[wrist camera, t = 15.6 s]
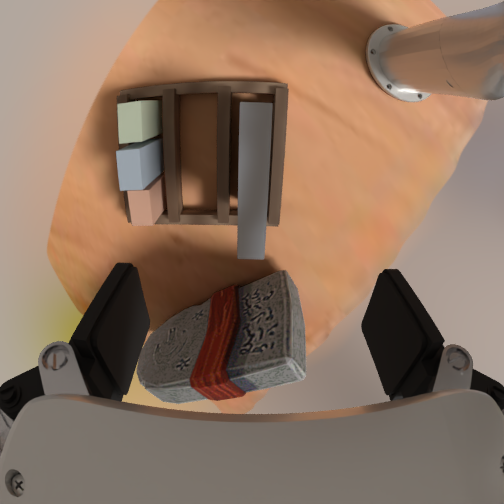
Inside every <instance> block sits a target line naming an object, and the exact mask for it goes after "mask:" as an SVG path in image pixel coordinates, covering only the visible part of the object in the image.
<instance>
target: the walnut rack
mask: <svg viewBox="0 0 504 504" xmlns="http://www.w3.org/2000/svg"><path fill="white" fill-rule="evenodd" d="M287 87H288V84H285V83H272V82H250V81H210V82H189V83H176V84H165V85H156V86H148V87H141V88H134V89H128V90H122V91H120V96H117V104H121V103H128V102H135V99H142V98H150V97H159V96H163V145H164V166H165V182H166V196H167V208H168V210H164V211H163V212H162V214H161V215H160V216H159V218H158V219H157V221H156V222H155V224H190V225H238V210H230V145H231V102H232V93H257V94H274V100H273V121H272V140H271V158H270V176H269V193H268V209H267V222H266V226H278V225H279V221H280V209H281V196H282V183H283V170H284V156H285V141H286V125H287V108H288V89H287ZM201 93H218V114H217V210H183V201H182V183H181V160H180V95H182V94H201ZM117 121H118V107H117ZM118 140H119V132H118ZM134 143H136V142H131V143H122V144H119V150H120V149H122V148H124V147H126V146H129V145H131V144H134ZM127 191H128V190H125V191H123V192H124V199H125V207H126V213H127V220H128V223H131V224H132V221H131V215H130V208H129V200H128V193H127Z"/></svg>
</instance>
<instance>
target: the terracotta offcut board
mask: <svg viewBox="0 0 504 504" xmlns="http://www.w3.org/2000/svg"><path fill="white" fill-rule="evenodd" d="M127 193H128V200H129V208H130V215H131V221H132V226H153V225H154V224H155V222H156V221H157V219H158V218H159V216H160V215H161V214H162V212H163V211H164V209H165V208H166V207H167V201H166V188H165V175H159V176H157V177H156V178H155V179H154V180H153V181H152V182H151V183H150V184H149V185H147V186H146V187H145V188H144V189H143V190H128V191H127Z"/></svg>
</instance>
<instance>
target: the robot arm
mask: <svg viewBox="0 0 504 504" xmlns="http://www.w3.org/2000/svg"><path fill="white" fill-rule="evenodd" d="M388 29H389V30H388ZM371 52H372V53H371ZM366 60H367V64H368V68H369V70H370V72H371V74H372V76H373V78H374V79H375V81H376V82H377V84H378V85H379V86H380V87H381V88H382V89H383V90H384V91H385V92H386V93H387V94H389V95H390V96H392V97H394V98H396V99H398V100H401V101H406V102H419V101H422V100H424V99H426V98H428V97H429V96H430V95H431V94H443V95H453V96H461V97H468V98H475V99H482V100H497V99H500V98H503V97H504V1H503V2H501V3H498V4H495V5H492V6H489V7H486V8H483V9H479V10H474V11H470V12H467V13H462V14H458V15H453V16H449V17H445V18H441V19H437V20H433V21H430V22H426V23H423V24H420V25H416V26H413V27H410V28H408V27H406V26H402V25H398V24H389V25H385V26H382V27H380V28H378V29H376V30H375V31H374V32H373V33H372V34H371V36H370V37H369V39H368V42H367V45H366ZM387 86H388V88H387ZM149 326H150V319H149V315H148V311H147V307H146V303H145V299H144V295H143V291H142V287H141V283H140V278H139V274H138V270H137V268H136V267H133V265H132V264H131V263H117V264H116V265H115V267H114V268H113V270H112V271H111V273H110V274H109V276H108V277H107V279H106V280H105V282H104V283H103V285H102V286H101V288H100V290H99V291H98V293H97V294H96V296H95V298H94V299H93V301H92V302H91V304H90V306H89V307H88V309H87V311H86V312H85V314H84V316H83V318H82V319H81V321H80V323H79V325H78V326H77V328H76V330H75V332H74V333H73V335H72V337H71V340H70V341H69V343H66V342H63V341H62V342H61V341H57V342H53V343H51V344H49V345H47V346H46V347H45V348H44V349H43V350H42V352H41V353H40V356H39V359H38V364H39V366H37V367H35V368H33V369H31V370H29V371H26V372H24V373H22V374H20V375H18V376H16V377H14V378H12V379H10V380H8V381H7V382H5V383H3V384H2V386H1V387H0V504H504V387H503V385H501V384H500V383H499V382H497V381H495V380H493V379H491V378H490V377H488V376H486V375H484V374H482V373H480V372H478V371H476V370H474V369H473V361H472V357H471V356H470V354H469V353H468V351H466V350H465V349H464V348H462V347H461V346H458V345H455V344H451V345H448V346H446V347H445V348H444V346H443V342H444V341H445V340H444V338H443V337H442V335H441V333H440V332H439V330H438V328H437V327H436V325H435V323H434V322H433V320H432V319H431V317H430V315H429V314H428V313H427V311H426V309H425V308H424V306H423V305H422V303H421V302H420V300H419V299H418V297H417V296H416V294H415V293H414V291H413V290H412V288H411V287H410V285H409V284H408V282H407V281H406V280H405V278H404V277H403V275H402V274H401V272H400V271H399V270H398V269H385V270H384V271H383V272H382V273H380V274H379V276H378V279H377V282H376V285H375V288H374V291H373V293H372V297H371V299H370V302H369V305H368V307H367V310H366V313H365V315H364V318H363V321H362V326H361V327H362V332H363V334H364V337H365V339H366V342H367V345H368V347H369V350H370V352H371V355H372V358H373V360H374V363H375V366H376V369H377V371H378V374H379V377H380V380H381V383H382V386H383V388H384V391H385V393H386V395H389V397H390V400H391V401H389V402H384V403H379V404H372V405H366V406H360V407H353V408H346V409H338V410H329V411H318V412H306V413H290V414H223V413H205V412H193V411H183V410H174V409H166V408H158V407H152V406H145V405H138V404H132V403H127V402H121V401H122V398H123V395H126V394H127V393H128V391H129V387H130V384H131V381H132V377H133V374H134V371H135V368H136V365H137V362H138V359H139V356H140V353H141V350H142V347H143V344H144V341H145V338H146V335H147V332H148V330H149Z"/></svg>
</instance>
